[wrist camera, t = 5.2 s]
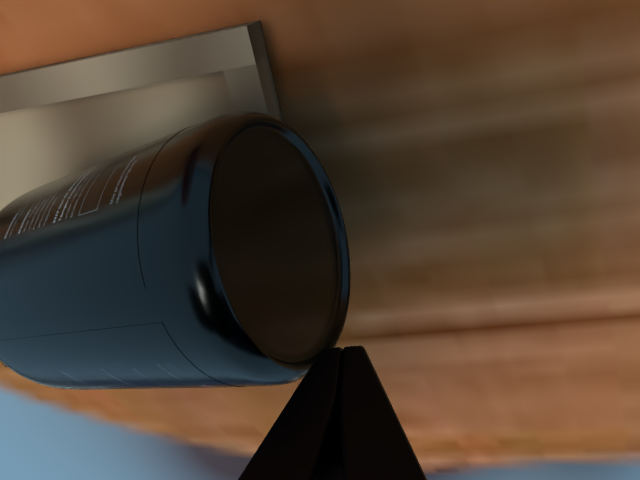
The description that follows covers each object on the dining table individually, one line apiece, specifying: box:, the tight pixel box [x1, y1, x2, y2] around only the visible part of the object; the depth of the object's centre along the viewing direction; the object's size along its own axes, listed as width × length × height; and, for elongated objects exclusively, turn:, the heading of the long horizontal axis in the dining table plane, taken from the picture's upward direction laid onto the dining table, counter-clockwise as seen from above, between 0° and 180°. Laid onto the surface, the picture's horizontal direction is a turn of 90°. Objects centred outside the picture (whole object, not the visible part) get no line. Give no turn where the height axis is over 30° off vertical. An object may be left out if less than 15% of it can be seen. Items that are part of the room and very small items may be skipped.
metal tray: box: [0, 21, 283, 367], centre depth 17 cm, size 16×12×2 cm
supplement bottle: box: [0, 111, 350, 390], centre depth 13 cm, size 7×7×12 cm
